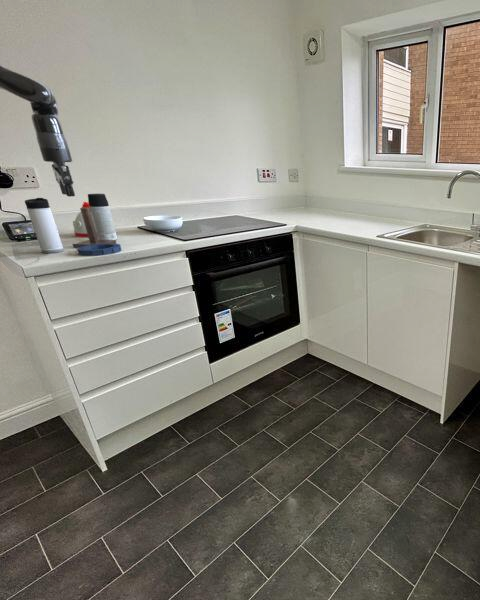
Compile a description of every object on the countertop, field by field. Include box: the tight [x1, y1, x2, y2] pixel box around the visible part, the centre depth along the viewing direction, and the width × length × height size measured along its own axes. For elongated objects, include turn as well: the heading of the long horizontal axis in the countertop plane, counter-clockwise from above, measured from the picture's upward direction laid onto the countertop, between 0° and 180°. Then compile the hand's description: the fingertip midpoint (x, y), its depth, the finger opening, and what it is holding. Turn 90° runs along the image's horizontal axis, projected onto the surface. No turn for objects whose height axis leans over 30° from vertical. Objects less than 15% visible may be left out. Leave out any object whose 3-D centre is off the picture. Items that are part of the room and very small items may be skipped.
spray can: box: [87, 193, 118, 241], centre depth 154 cm, size 7×7×20 cm
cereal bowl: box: [142, 215, 183, 233], centre depth 179 cm, size 17×17×7 cm
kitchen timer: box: [72, 201, 98, 238], centre depth 165 cm, size 14×14×15 cm
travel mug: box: [24, 197, 65, 254], centre depth 133 cm, size 6×7×20 cm
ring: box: [76, 242, 122, 257], centre depth 138 cm, size 13×13×2 cm
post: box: [72, 207, 117, 249], centre depth 145 cm, size 10×10×16 cm
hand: (68, 195), depth 128 cm, fingers open, 8 cm apart
